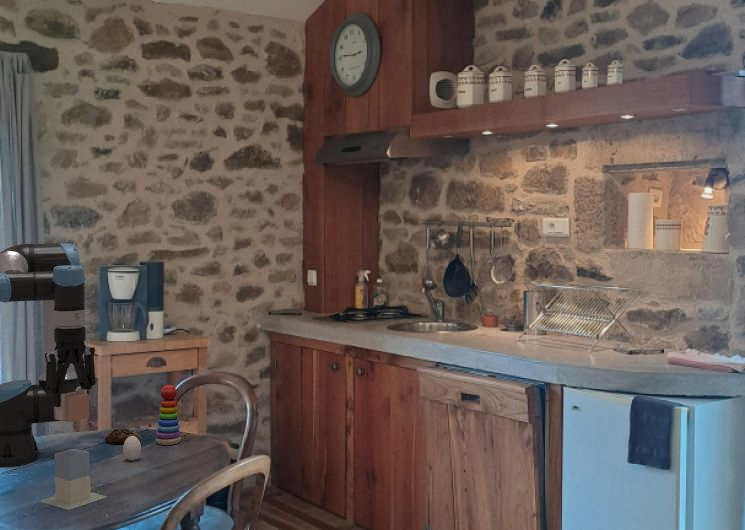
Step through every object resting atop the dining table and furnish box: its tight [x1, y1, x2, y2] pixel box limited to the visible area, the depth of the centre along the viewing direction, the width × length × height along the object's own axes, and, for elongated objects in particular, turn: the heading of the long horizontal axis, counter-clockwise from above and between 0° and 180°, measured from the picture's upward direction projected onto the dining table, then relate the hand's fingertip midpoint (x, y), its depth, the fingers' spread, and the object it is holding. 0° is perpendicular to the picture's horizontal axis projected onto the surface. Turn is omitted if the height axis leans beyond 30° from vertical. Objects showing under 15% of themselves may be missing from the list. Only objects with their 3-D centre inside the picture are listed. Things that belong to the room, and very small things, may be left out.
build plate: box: [39, 491, 108, 511], centre depth 224 cm, size 12×12×1 cm
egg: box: [122, 436, 142, 461], centre depth 261 cm, size 5×5×7 cm
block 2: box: [54, 448, 91, 481], centre depth 223 cm, size 6×6×6 cm
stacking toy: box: [155, 384, 182, 446], centre depth 281 cm, size 8×8×19 cm
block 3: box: [54, 474, 91, 504], centre depth 223 cm, size 6×6×6 cm
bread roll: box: [104, 428, 141, 446], centre depth 284 cm, size 11×11×5 cm
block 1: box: [54, 392, 90, 423], centre depth 222 cm, size 6×6×6 cm
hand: (71, 416), depth 222 cm, fingers closed on block 1, 6 cm apart
